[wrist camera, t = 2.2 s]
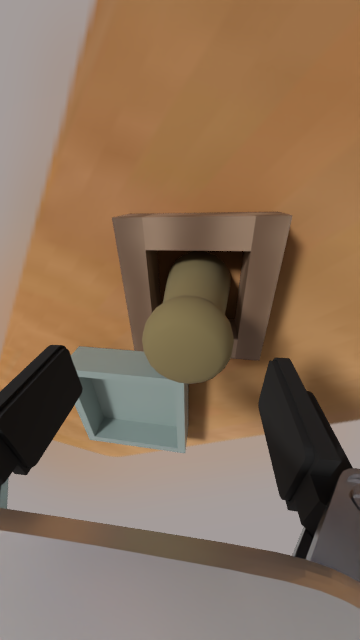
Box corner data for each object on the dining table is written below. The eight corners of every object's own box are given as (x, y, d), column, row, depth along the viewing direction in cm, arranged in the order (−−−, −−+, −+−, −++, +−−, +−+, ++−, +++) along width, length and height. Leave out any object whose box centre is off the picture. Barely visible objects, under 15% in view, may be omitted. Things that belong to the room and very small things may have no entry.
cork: (209, 320, 22) (205, 413, 13) (158, 294, 21) (112, 372, 12) (244, 270, 19) (272, 346, 9) (184, 238, 18) (151, 283, 9)
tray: (188, 355, 25) (183, 380, 21) (188, 425, 32) (185, 453, 28) (79, 346, 27) (59, 368, 23) (102, 414, 34) (89, 439, 30)
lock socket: (278, 211, 16) (292, 215, 13) (253, 338, 22) (259, 360, 19) (129, 213, 18) (111, 217, 15) (144, 331, 24) (134, 350, 21)
